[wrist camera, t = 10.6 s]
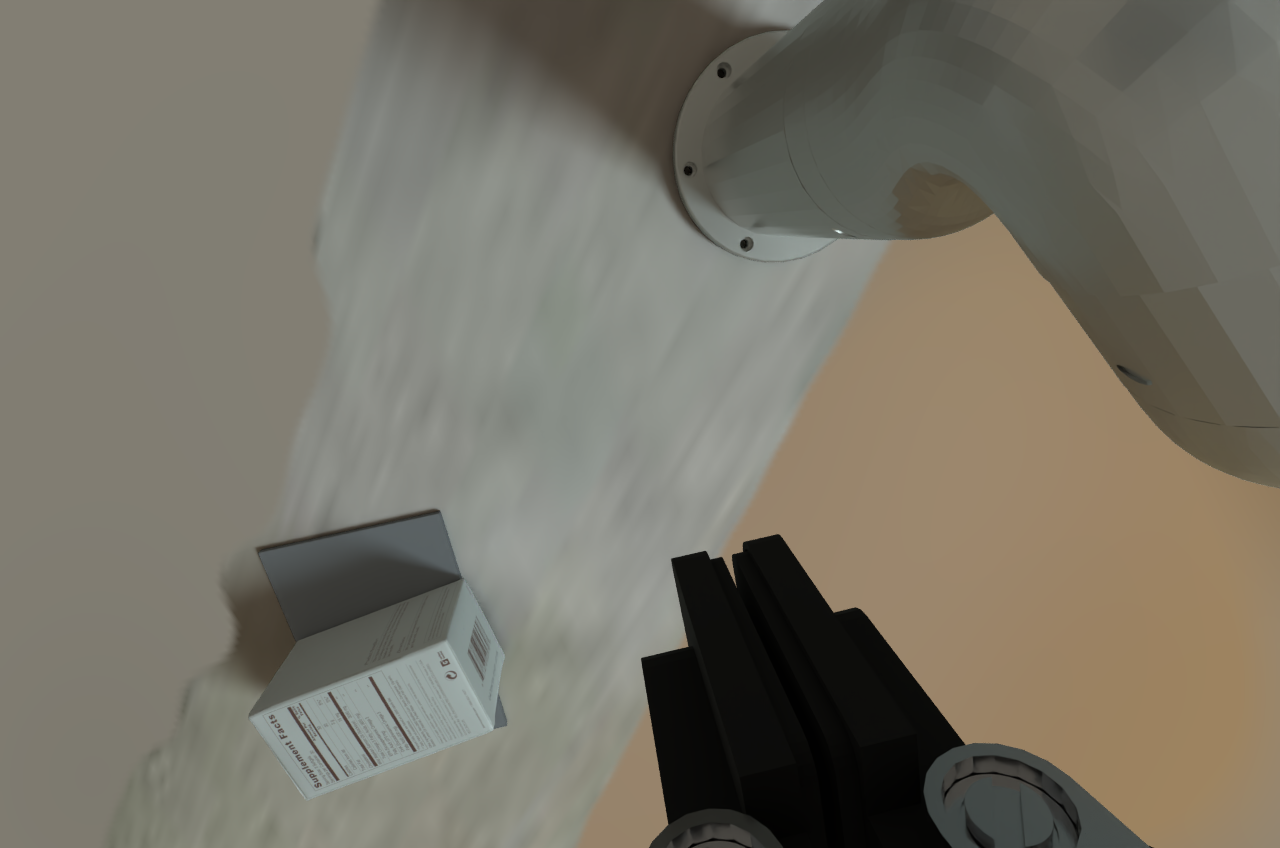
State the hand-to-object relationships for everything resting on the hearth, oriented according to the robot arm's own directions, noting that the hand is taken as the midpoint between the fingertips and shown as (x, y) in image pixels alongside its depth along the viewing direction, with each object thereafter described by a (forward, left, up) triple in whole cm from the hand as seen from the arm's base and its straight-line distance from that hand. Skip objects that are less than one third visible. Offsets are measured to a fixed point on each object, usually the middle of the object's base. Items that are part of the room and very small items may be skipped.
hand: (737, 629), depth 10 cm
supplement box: (+12, +18, -28) cm, 36 cm away
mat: (+20, +19, -32) cm, 42 cm away
